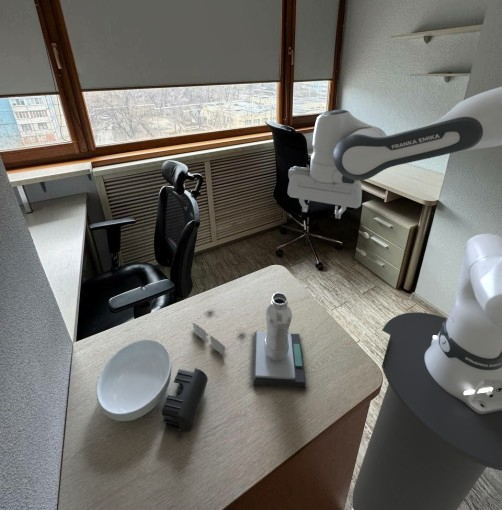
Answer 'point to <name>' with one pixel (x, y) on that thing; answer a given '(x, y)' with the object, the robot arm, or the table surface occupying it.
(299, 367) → the scale
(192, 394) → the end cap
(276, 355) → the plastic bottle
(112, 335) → the table surface
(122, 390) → the cereal bowl
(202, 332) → the eyeglasses
